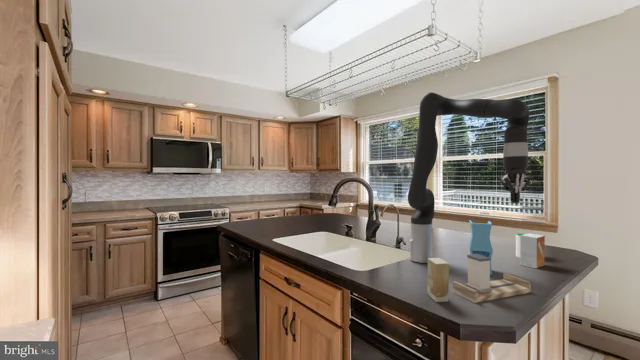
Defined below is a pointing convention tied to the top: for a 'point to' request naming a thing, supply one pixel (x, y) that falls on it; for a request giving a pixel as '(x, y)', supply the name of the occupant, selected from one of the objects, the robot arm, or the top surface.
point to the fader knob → (479, 273)
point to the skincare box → (438, 279)
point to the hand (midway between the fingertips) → (515, 202)
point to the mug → (518, 244)
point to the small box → (532, 250)
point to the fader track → (494, 289)
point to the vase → (481, 240)
